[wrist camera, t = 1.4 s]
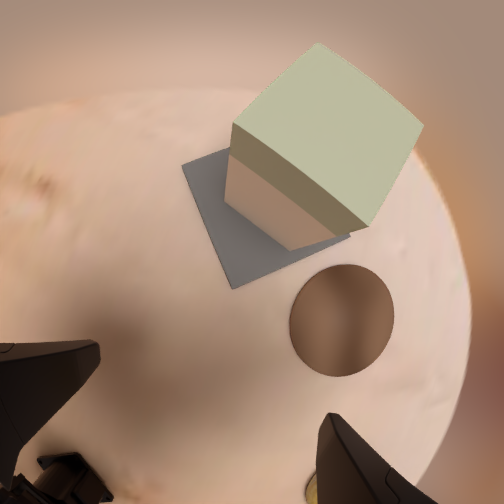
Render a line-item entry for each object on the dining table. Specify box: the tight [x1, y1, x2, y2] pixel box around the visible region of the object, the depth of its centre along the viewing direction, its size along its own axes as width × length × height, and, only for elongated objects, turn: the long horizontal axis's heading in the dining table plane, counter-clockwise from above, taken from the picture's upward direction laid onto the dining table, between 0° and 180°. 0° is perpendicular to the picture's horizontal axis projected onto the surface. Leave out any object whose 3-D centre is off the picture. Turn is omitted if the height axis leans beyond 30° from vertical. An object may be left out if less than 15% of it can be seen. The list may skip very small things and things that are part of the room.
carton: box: [224, 42, 424, 251], centre depth 16 cm, size 6×6×12 cm
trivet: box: [290, 265, 394, 377], centre depth 22 cm, size 9×9×1 cm
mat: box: [182, 147, 351, 289], centre depth 22 cm, size 10×10×1 cm
